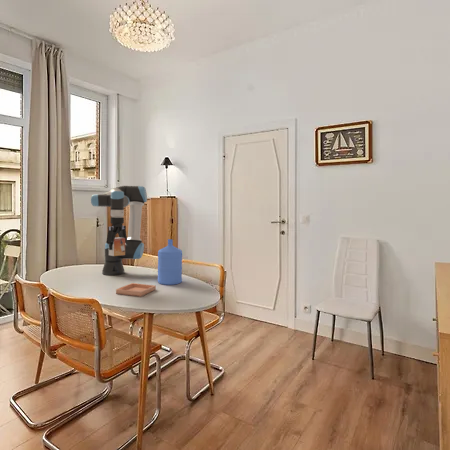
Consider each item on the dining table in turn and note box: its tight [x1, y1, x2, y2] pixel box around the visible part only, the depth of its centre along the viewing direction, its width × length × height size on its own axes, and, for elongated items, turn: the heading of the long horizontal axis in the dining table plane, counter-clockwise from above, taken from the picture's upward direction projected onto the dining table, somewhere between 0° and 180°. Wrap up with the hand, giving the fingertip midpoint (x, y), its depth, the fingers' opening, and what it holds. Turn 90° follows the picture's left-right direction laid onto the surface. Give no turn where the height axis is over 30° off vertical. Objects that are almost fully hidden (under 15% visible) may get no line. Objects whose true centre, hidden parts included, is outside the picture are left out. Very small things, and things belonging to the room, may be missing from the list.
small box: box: [110, 236, 125, 256], centre depth 197 cm, size 8×6×10 cm
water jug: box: [157, 238, 183, 286], centre depth 213 cm, size 16×16×28 cm
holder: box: [115, 282, 157, 298], centre depth 190 cm, size 16×16×2 cm
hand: (117, 254), depth 198 cm, fingers closed on small box, 9 cm apart
